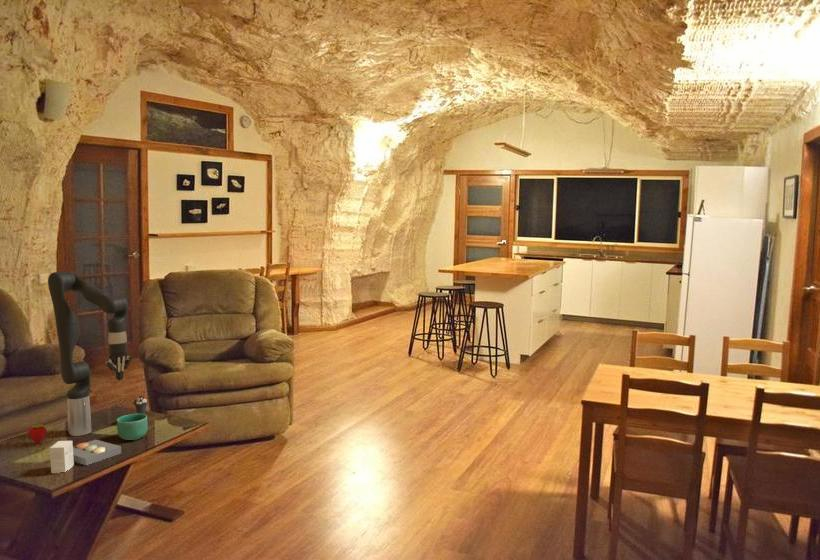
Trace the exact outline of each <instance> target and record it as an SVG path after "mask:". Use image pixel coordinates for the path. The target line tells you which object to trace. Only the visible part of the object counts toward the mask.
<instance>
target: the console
mask: <svg viewBox="0 0 820 560" xmlns="http://www.w3.org/2000/svg"><path fill="white" fill-rule="evenodd" d="M86 443H89V445H97V448H98V447H105V452H102V453H99V454H95V453H93V450H92V451H90V452H88V451H85V448H83V449H78V448H77V445H75V446H74V445H73V459H74V463H75V462H76V463H75V464H79V463H80V464H79V465H82V464H83V465H82V466H85V465H87V466H90V465H92V463H93V464H95V463H98V462H100V461H104V460H106V458H107V459H109V458H112V457H115V456H117V455H118V456H119V455H120V454H122V446H120V445H117V444H113V443H110V442H106V441H103V440H98V439H92V440H91V441H87V442H86ZM103 459H104V460H103ZM94 462H95V463H94ZM89 464H90V465H89Z"/></svg>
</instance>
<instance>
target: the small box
mask: <svg viewBox="0 0 820 560" xmlns="http://www.w3.org/2000/svg"><path fill="white" fill-rule="evenodd" d="M73 447H74V445H73V440H58V441H57V442H55V443H54V444H53V445H52V446H50V447H49V458H50V471H51V472H50V473H51V474H52V473H53V474H61V473H60V472H66V471H67V470H68V471H69V470H70V469H72V468H73V467H74V466H75V462H74V459H73ZM68 471H67V472H68ZM67 472H66V473H67Z"/></svg>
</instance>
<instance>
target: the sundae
mask: <svg viewBox="0 0 820 560" xmlns="http://www.w3.org/2000/svg"><path fill="white" fill-rule="evenodd" d="M145 393H146V391H143V393H142V394H140V395H139V396H137V398H136V399H135V398H133V401H134V402H133V403H132V405H134V407H135V410H136V414H145V415H146V411H147V405H148V403H149V400H147V399H146V396H145Z"/></svg>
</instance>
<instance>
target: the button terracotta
mask: <svg viewBox="0 0 820 560" xmlns="http://www.w3.org/2000/svg"><path fill="white" fill-rule="evenodd" d="M88 445H89V443H87V442H80V443H77V444H76V446H77V448H78V449H83V448H85V447H86V446H88Z"/></svg>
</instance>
